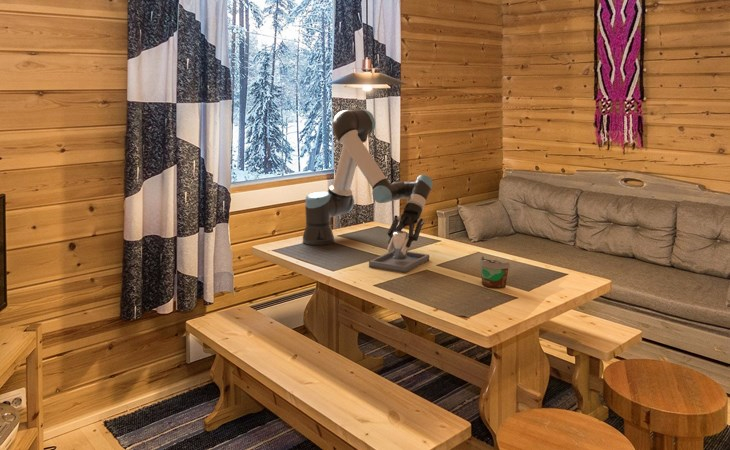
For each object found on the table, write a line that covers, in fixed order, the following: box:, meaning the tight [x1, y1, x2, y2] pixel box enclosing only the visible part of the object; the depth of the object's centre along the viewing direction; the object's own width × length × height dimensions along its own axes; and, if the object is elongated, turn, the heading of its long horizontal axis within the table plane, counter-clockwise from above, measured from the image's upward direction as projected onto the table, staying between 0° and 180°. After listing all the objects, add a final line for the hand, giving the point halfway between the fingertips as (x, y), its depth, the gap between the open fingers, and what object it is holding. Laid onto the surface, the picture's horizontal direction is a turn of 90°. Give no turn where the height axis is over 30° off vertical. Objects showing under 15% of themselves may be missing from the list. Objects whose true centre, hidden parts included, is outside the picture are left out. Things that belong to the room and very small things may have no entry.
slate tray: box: [368, 250, 430, 274], centre depth 266 cm, size 17×22×2 cm
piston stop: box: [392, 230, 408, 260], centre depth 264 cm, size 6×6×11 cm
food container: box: [478, 256, 511, 290], centre depth 235 cm, size 12×6×10 cm, turn 44°
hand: (395, 252), depth 262 cm, fingers closed on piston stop, 6 cm apart
